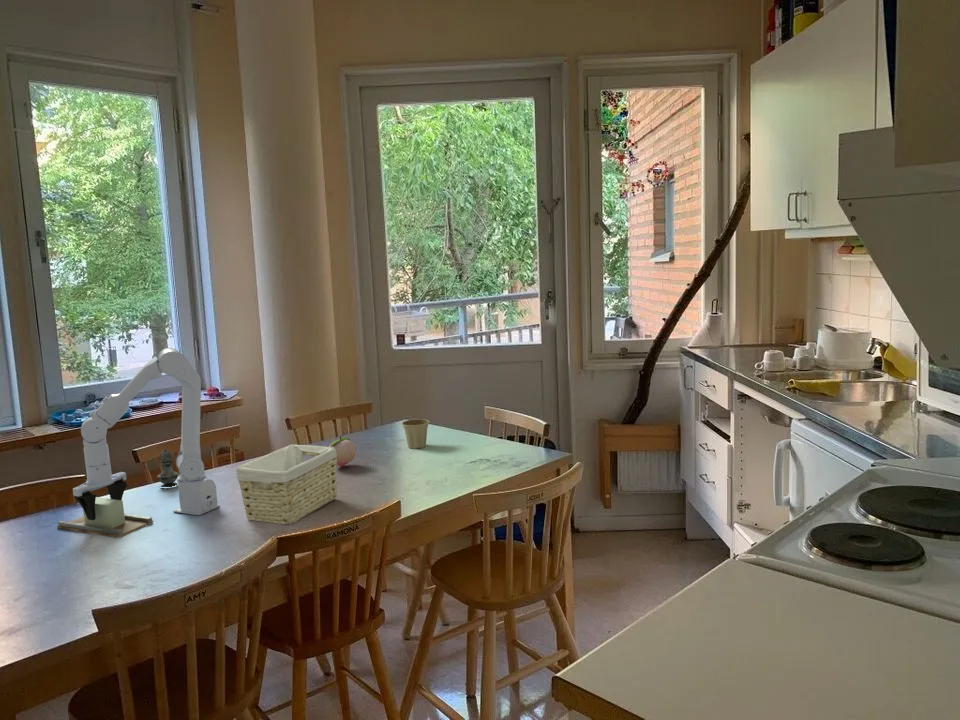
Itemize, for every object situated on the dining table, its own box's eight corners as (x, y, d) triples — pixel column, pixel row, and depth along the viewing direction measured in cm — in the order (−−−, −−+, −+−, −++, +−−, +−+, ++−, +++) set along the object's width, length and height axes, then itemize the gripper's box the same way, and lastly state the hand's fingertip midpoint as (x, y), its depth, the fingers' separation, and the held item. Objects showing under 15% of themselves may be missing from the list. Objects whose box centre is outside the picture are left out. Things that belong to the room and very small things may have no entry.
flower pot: (429, 449, 262) (428, 424, 260) (401, 450, 262) (400, 425, 261) (431, 442, 271) (430, 418, 270) (404, 443, 271) (403, 419, 270)
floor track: (153, 522, 203) (152, 517, 202) (118, 537, 193) (117, 531, 193) (94, 513, 212) (93, 508, 212) (57, 528, 202) (56, 522, 202)
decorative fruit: (348, 471, 240) (345, 440, 239) (324, 470, 243) (322, 439, 241) (362, 463, 249) (359, 433, 247) (339, 462, 252) (337, 432, 250)
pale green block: (125, 522, 202) (122, 500, 201) (112, 528, 198) (109, 505, 197) (98, 518, 206) (95, 496, 205) (85, 523, 203) (82, 501, 202)
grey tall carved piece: (172, 489, 231) (167, 450, 229) (154, 489, 232) (150, 450, 230) (183, 483, 236) (179, 444, 235) (166, 483, 238) (161, 444, 236)
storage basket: (288, 528, 194) (283, 471, 192) (237, 522, 200) (232, 466, 198) (343, 498, 215) (339, 446, 213) (295, 493, 222) (291, 443, 220)
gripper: (110, 455, 208) (116, 504, 210) (61, 470, 195) (68, 522, 197) (129, 457, 205) (135, 506, 207) (81, 472, 192) (88, 525, 194)
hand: (104, 514), depth 202 cm, fingers open, 7 cm apart
